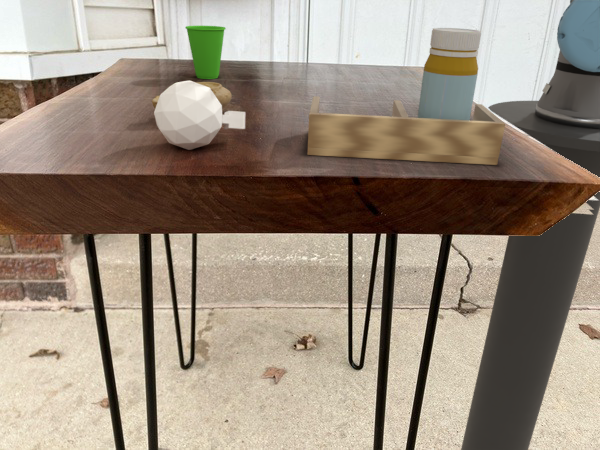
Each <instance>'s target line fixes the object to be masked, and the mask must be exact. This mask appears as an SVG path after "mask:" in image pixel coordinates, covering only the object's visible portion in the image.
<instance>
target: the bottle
mask: <svg viewBox="0 0 600 450" xmlns="http://www.w3.org/2000/svg"><path fill="white" fill-rule="evenodd" d="M481 36H482V31H481V30H479V29H478V30H476V29H470V28H456V27H434V28H432V30H431V36H430V47H429V51H428V53H429V54H428V57H427V59H426V61H425V63H424V65H423V72H422V80H421V87H420V95H419V103H418V111H417V117H416V118H431V119H451V120H470V119H471V115H472V110H473V109H472V108H473V104H474V96H475V92H476V85H477V80H478V73H479V65H478V60H477V59H478V58H477V56H478V55H479V51H478V50H479V48H480V42H481Z"/></svg>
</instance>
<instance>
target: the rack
mask: <svg viewBox="0 0 600 450" xmlns="http://www.w3.org/2000/svg"><path fill="white" fill-rule="evenodd" d="M320 100H321V96H319V95H317V96H316V95H314V96H312V99H311V103H310V110H309V113H308V130H307V132H308V133H307V153H306V155H307V156H320V157H336V158H337V157H339V158H359V159H374V160H375V159H376V160H377V159H378V160H394V161H396V160H397V161H414V162H415V161H416V162H432V163H434V162H435V163H449V164H450V163H452V164H471V165H489V166H498V162H499V157H500V154H501V148H502V143H503V138H504V132H505V129H506V123H505V122H504V121H503V120H502V119H500V118H499V116H497V115H496V114H495V113H493V112H492V111H491V110H490V109H489V108H488V107H486V106H485V105H484V104H482V103H481V104H480V103H475V104H474V110H473V116H472V120H451V119H431V118H417V117H410V116H409V114H408V112H407V110H406V109H405V106H404V105H403V103H402V100H397V99H394V100H393V101H392V102H393V103H392V113H391V116H388V115H370V114H369V115H368V114H351V113H350V114H349V113H347V114H346V113H330V112H329V113H328V112H320V102H321V101H320Z"/></svg>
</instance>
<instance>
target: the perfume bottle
mask: <svg viewBox="0 0 600 450" xmlns="http://www.w3.org/2000/svg"><path fill="white" fill-rule="evenodd" d="M159 96H160V97H159V100H158V103H157V105H156V108H154V112H153V114H154V120H155V123H156V126H157V128H158V130H159V131H160V133H161V134H162V136H163V137H164V138H165V139H166V141H167V142H168V144H171V145H174V146H177V147H179V148H182V149H184V150H188V151H191V150H194V149H197V148H200V147H204V146H207V145H210V143H211V142H212V141H213V140H214V138H215V137H216V136H217V134H218V133H219V132H220V130H221V128H222V126H223V129H224V130H230V131H231V130H233V131H242V130H243V131H244V130H246V111H239V110H238V111H237V110H227V111H224V114H223V109H222V105H221V103H220V102H219V101H218V99H217V98H216V96H215V95H214V93H213V92H212V90H211V89H210V88H209V87H207V86H204V85H201V84H198V83H197V82H195V81H192V80H190V79H189V80H183V81H179V82H178V81H177V82H175V83H173V84H171V85H170V86H168V87H167V88H166V89H165V90H164V91H162V93H160V95H159Z"/></svg>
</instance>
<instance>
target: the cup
mask: <svg viewBox="0 0 600 450" xmlns="http://www.w3.org/2000/svg"><path fill="white" fill-rule="evenodd" d="M185 29H186V33H187V36H188V37H187V38H188V42H189V47H190V53H191V57H192V62H193V67H194V72H195V76H196V78H197V79H201V80H215V79H218V78H219V76H220V69H221V62H222V61H221V60H222V53H223V52H222V51H223V46H224V45H223V44H224V35H225V30H227V29H226V27H225V26H221V25H220V26H219V25H217V26H216V25H186V26H185Z"/></svg>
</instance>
